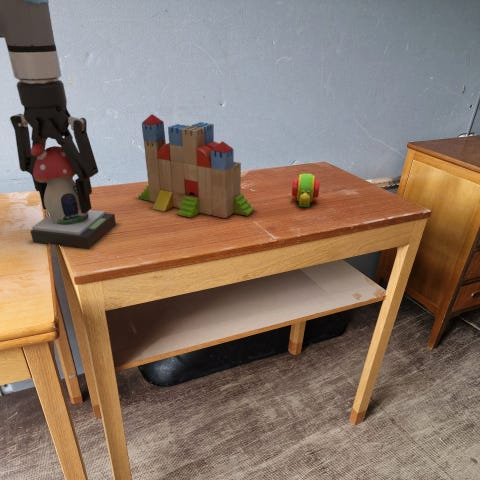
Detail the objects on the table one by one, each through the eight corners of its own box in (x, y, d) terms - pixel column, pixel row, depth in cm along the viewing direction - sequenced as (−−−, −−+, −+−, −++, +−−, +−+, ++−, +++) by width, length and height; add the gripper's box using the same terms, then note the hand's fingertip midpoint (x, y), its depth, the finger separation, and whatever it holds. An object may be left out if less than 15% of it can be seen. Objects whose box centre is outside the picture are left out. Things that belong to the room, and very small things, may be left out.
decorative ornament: (47, 228, 86) (27, 148, 77) (42, 216, 90) (22, 139, 81) (96, 219, 89) (82, 142, 81) (88, 209, 94) (74, 134, 85)
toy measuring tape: (289, 209, 104) (292, 181, 100) (294, 182, 119) (296, 157, 116) (317, 211, 103) (320, 183, 99) (318, 184, 119) (321, 159, 115)
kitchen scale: (33, 242, 87) (29, 228, 86) (65, 219, 97) (62, 205, 95) (89, 248, 85) (86, 234, 84) (116, 224, 95) (114, 211, 93)
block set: (260, 207, 105) (264, 119, 93) (231, 228, 94) (232, 132, 83) (164, 186, 115) (157, 105, 104) (128, 203, 105) (116, 115, 94)
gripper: (105, 79, 76) (123, 206, 90) (0, 74, 80) (32, 197, 93) (83, 86, 70) (106, 221, 84) (-29, 80, 74) (10, 211, 87)
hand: (67, 208), depth 88 cm, fingers closed on decorative ornament, 8 cm apart
